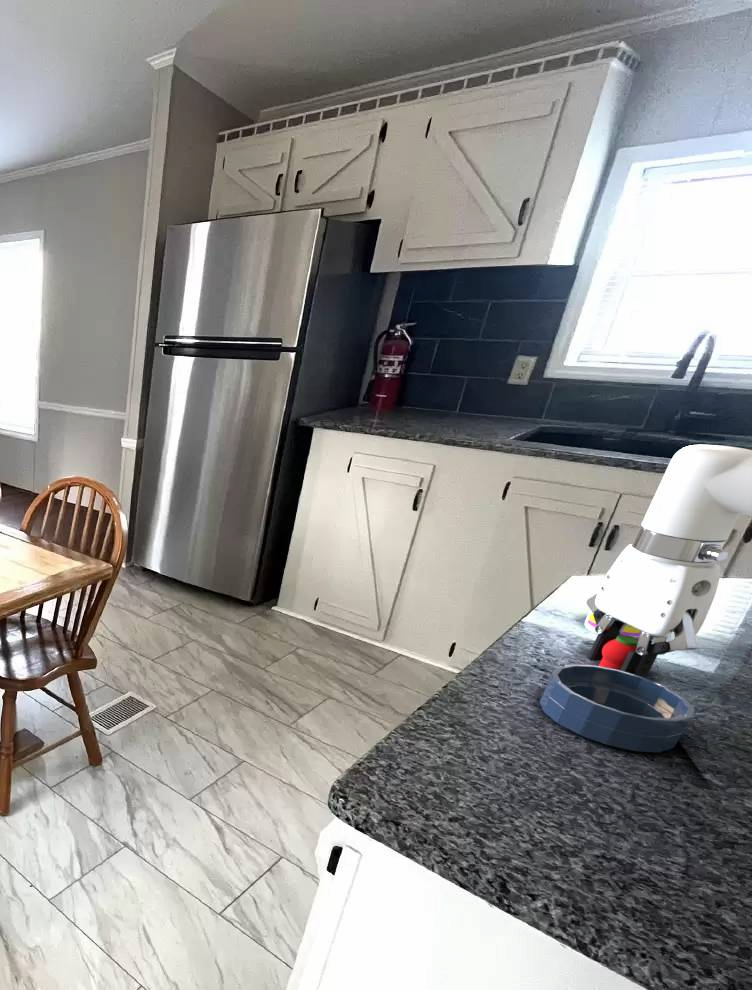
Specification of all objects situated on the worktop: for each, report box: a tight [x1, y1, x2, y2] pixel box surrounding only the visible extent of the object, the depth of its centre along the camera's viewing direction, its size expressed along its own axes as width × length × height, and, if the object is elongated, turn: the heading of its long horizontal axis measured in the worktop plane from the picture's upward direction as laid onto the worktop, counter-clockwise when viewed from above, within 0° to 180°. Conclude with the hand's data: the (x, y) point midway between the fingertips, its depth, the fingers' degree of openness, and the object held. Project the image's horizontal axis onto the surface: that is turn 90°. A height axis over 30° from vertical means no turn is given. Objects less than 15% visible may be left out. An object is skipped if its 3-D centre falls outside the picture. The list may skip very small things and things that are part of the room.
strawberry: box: [598, 635, 639, 670], centre depth 87 cm, size 4×4×5 cm
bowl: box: [539, 663, 695, 753], centre depth 76 cm, size 12×12×5 cm
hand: (615, 667), depth 88 cm, fingers closed on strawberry, 3 cm apart
